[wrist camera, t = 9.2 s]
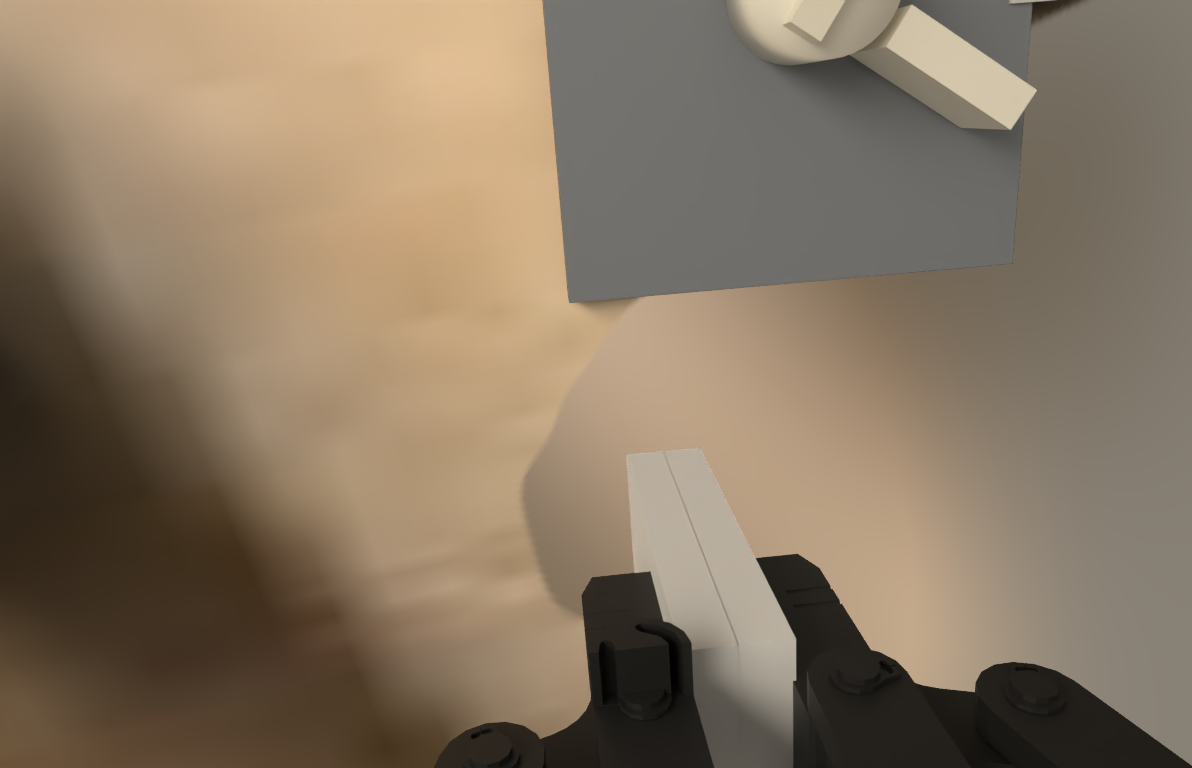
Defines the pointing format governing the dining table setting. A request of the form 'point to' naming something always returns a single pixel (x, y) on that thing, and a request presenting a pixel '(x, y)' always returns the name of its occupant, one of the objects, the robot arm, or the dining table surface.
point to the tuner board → (764, 155)
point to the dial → (887, 53)
